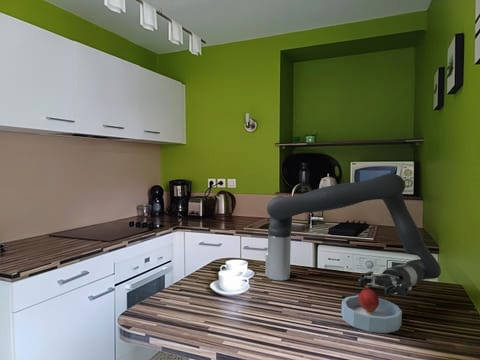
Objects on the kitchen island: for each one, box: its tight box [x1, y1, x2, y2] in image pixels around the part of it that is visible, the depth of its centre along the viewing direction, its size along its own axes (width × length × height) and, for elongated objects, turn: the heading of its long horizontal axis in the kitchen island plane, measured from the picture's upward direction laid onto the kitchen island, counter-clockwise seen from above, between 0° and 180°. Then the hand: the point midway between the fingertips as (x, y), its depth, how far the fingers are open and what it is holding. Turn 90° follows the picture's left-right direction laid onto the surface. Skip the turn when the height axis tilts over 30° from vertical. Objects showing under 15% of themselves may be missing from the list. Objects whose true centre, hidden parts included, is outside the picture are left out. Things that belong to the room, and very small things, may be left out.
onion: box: [358, 285, 379, 313], centre depth 99 cm, size 6×6×8 cm
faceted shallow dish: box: [341, 294, 403, 334], centre depth 97 cm, size 16×16×4 cm
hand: (371, 287), depth 97 cm, fingers open, 8 cm apart
